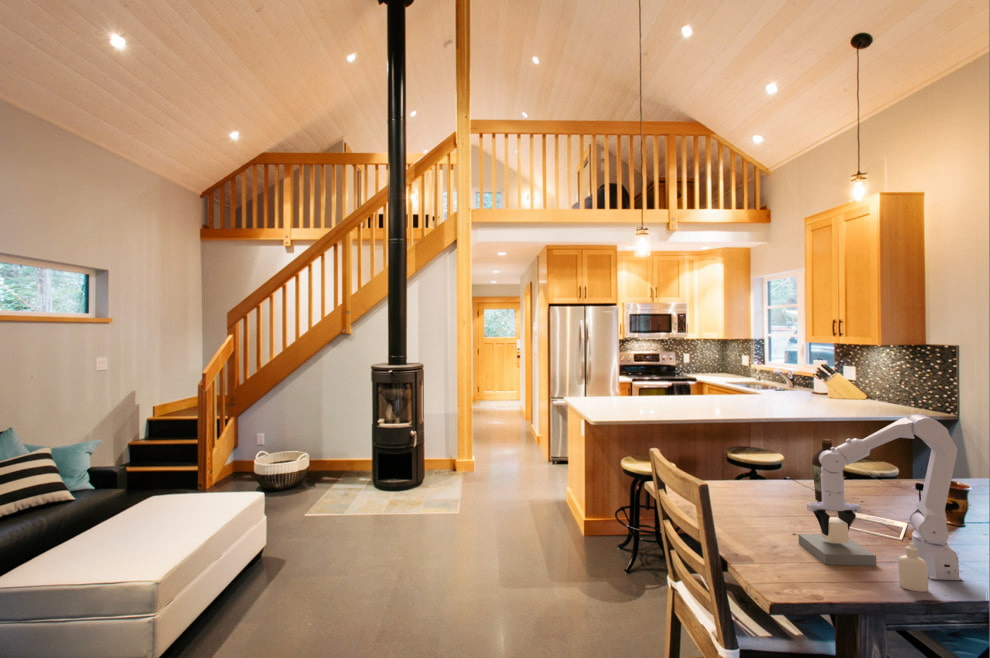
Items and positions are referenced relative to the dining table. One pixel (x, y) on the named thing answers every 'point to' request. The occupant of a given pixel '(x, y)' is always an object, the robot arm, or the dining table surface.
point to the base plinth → (837, 551)
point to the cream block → (837, 531)
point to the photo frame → (881, 521)
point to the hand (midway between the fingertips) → (834, 534)
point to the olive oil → (817, 468)
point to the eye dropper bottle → (913, 570)
